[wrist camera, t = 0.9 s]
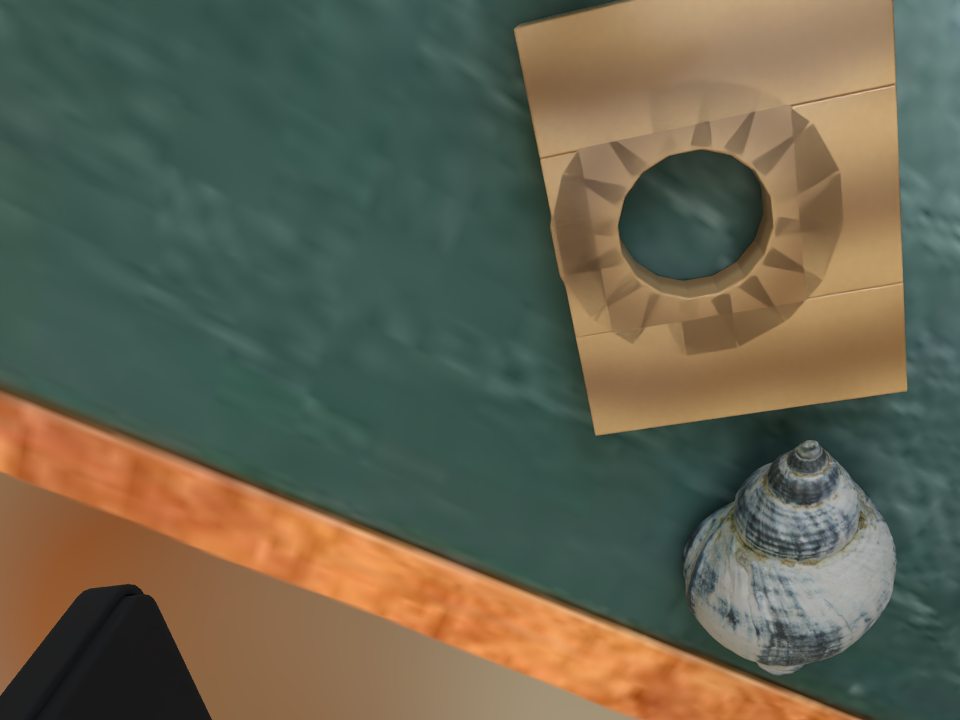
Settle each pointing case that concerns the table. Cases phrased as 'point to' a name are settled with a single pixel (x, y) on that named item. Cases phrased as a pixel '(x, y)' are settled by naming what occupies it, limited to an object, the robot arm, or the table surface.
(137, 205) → the table surface
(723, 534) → the seashell
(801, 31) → the holder
